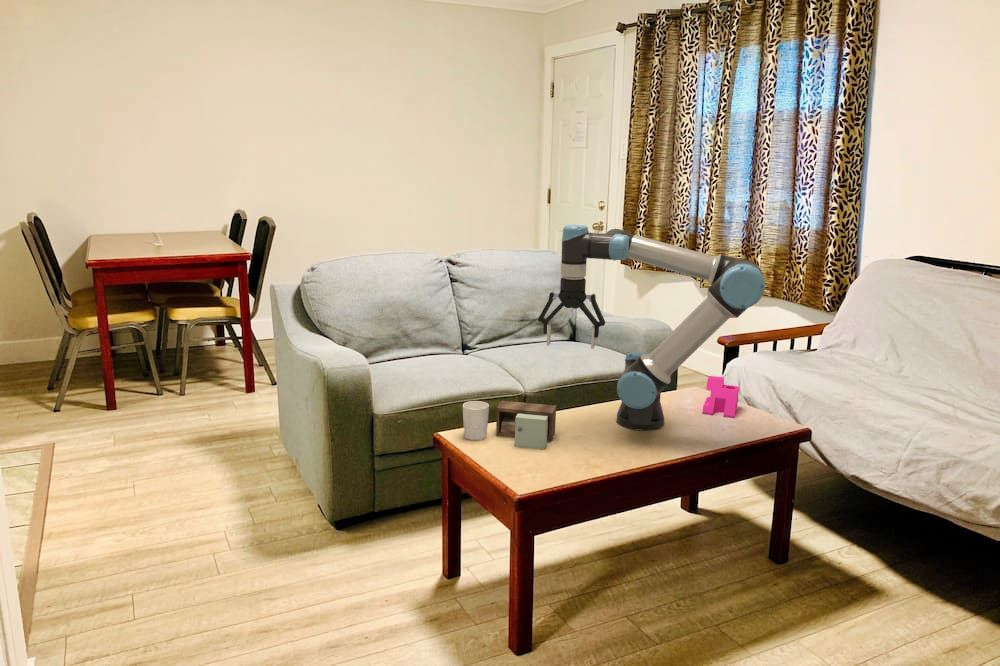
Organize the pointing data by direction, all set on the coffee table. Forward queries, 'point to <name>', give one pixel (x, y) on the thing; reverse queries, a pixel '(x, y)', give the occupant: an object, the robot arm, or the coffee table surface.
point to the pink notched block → (721, 398)
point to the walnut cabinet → (511, 409)
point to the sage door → (531, 431)
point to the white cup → (475, 419)
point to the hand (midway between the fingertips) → (570, 346)
